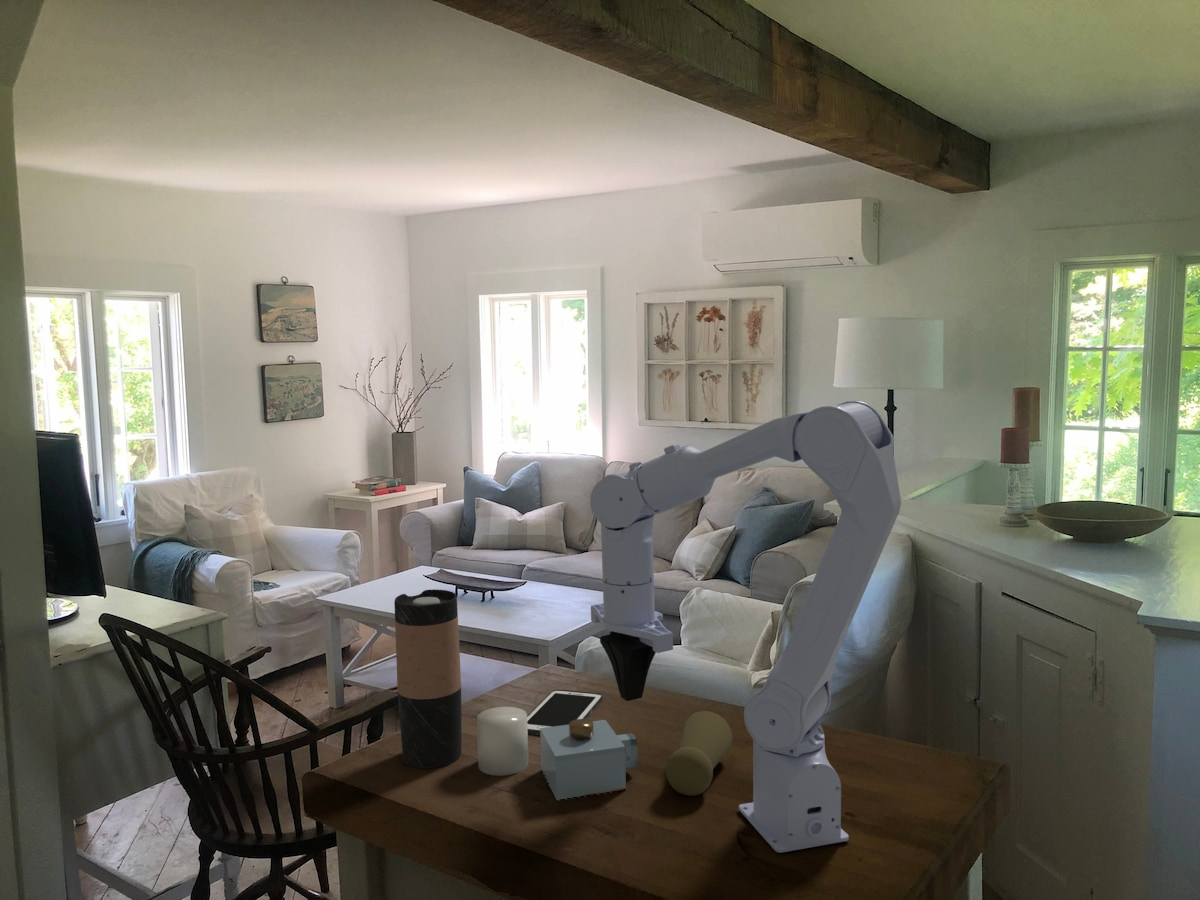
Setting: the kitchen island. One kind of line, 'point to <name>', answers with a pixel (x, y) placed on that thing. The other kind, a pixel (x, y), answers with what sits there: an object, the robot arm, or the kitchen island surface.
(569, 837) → the kitchen island surface
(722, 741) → the cork
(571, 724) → the plunger
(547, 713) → the cell phone
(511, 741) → the white pillar candle
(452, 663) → the travel mug
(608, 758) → the blue box with knob
